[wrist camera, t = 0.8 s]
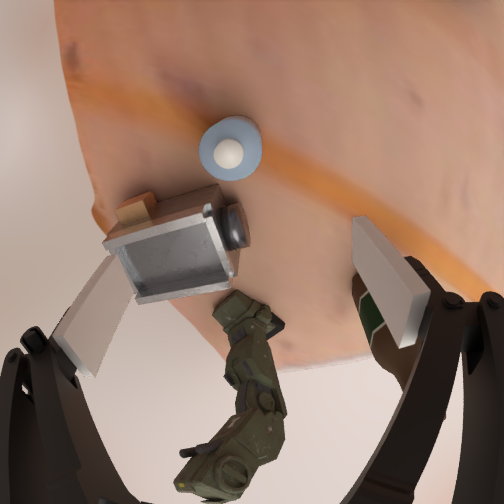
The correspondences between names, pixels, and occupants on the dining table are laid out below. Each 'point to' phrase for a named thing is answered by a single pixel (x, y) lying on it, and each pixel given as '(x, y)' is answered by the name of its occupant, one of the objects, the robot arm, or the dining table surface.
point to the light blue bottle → (231, 148)
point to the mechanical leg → (241, 408)
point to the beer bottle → (383, 336)
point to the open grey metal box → (178, 243)
